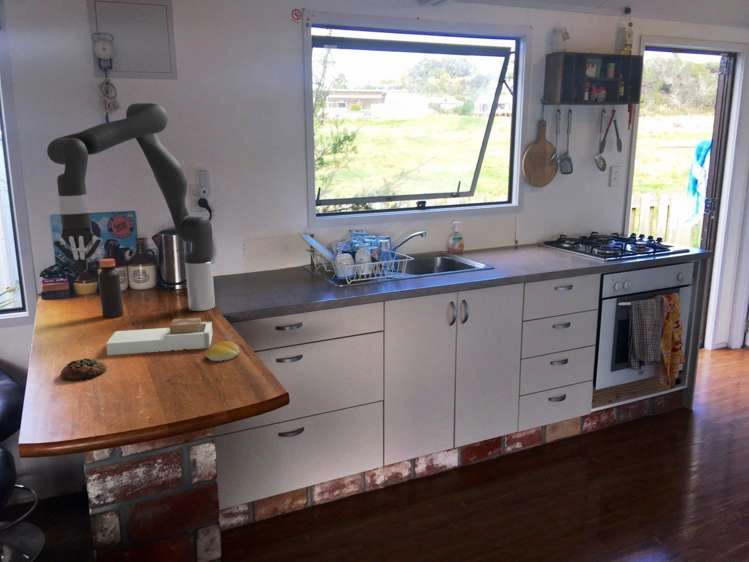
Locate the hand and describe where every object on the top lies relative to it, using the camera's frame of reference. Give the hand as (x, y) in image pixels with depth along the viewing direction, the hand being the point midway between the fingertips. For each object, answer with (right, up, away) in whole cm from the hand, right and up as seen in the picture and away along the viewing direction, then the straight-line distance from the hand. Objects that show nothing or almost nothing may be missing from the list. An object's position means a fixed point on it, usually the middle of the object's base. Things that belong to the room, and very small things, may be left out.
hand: (82, 272), depth 176 cm
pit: (+28, -21, +8) cm, 36 cm away
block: (+24, -18, +7) cm, 30 cm away
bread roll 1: (+8, -27, -15) cm, 32 cm away
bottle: (-8, -15, +40) cm, 44 cm away
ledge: (+14, -22, +6) cm, 27 cm away
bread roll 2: (+41, -24, -3) cm, 48 cm away
